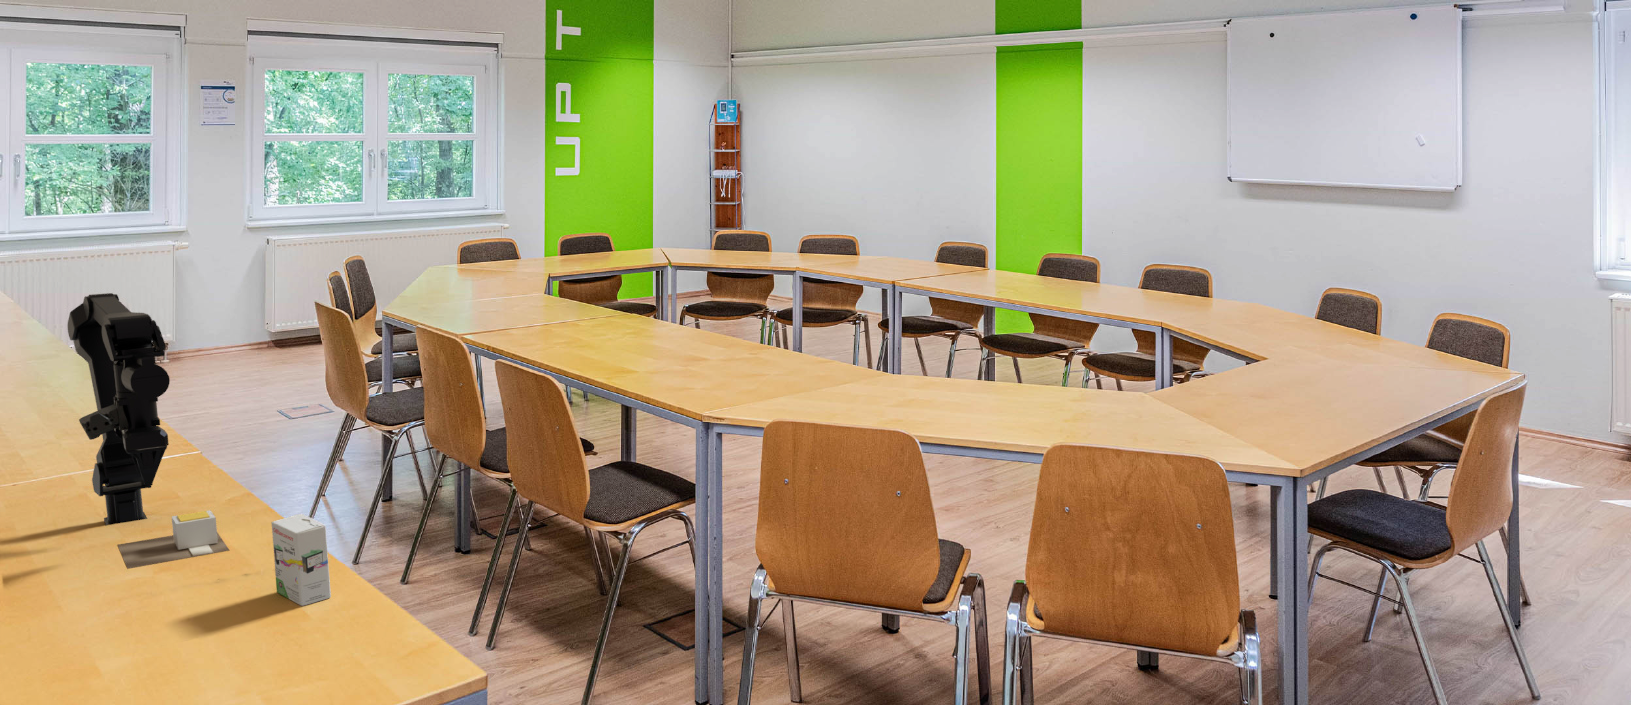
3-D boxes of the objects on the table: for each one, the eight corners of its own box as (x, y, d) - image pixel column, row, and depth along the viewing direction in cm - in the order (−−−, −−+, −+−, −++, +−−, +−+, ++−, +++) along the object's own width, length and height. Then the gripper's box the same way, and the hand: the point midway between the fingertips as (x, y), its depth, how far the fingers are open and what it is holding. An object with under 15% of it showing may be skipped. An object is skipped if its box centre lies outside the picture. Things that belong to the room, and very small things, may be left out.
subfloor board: (118, 551, 203) (117, 543, 203) (215, 534, 212) (214, 527, 212) (128, 575, 192) (127, 567, 192) (230, 557, 201) (229, 549, 200)
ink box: (275, 593, 185) (269, 520, 183) (306, 584, 189) (300, 512, 187) (301, 607, 180) (295, 532, 177) (332, 597, 183) (327, 524, 181)
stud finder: (173, 541, 204) (171, 515, 203) (212, 535, 207) (210, 509, 207) (178, 549, 200) (175, 522, 199) (217, 542, 203) (215, 516, 203)
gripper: (75, 385, 204) (84, 473, 207) (85, 405, 189) (95, 500, 192) (148, 378, 210) (157, 463, 213) (164, 396, 196) (173, 488, 198)
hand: (144, 478), depth 204 cm, fingers open, 9 cm apart
